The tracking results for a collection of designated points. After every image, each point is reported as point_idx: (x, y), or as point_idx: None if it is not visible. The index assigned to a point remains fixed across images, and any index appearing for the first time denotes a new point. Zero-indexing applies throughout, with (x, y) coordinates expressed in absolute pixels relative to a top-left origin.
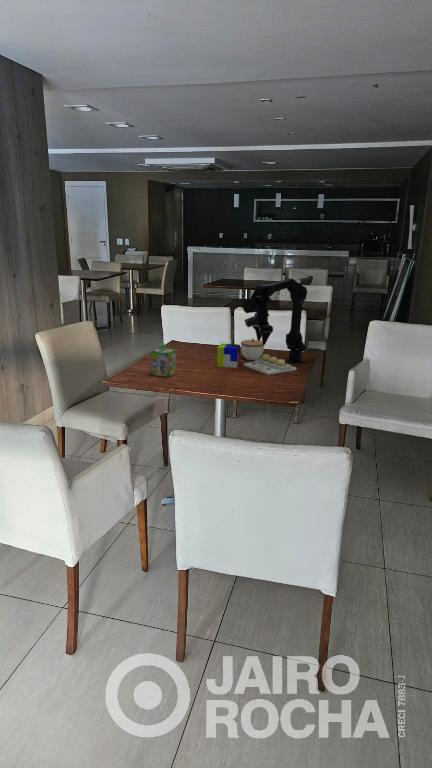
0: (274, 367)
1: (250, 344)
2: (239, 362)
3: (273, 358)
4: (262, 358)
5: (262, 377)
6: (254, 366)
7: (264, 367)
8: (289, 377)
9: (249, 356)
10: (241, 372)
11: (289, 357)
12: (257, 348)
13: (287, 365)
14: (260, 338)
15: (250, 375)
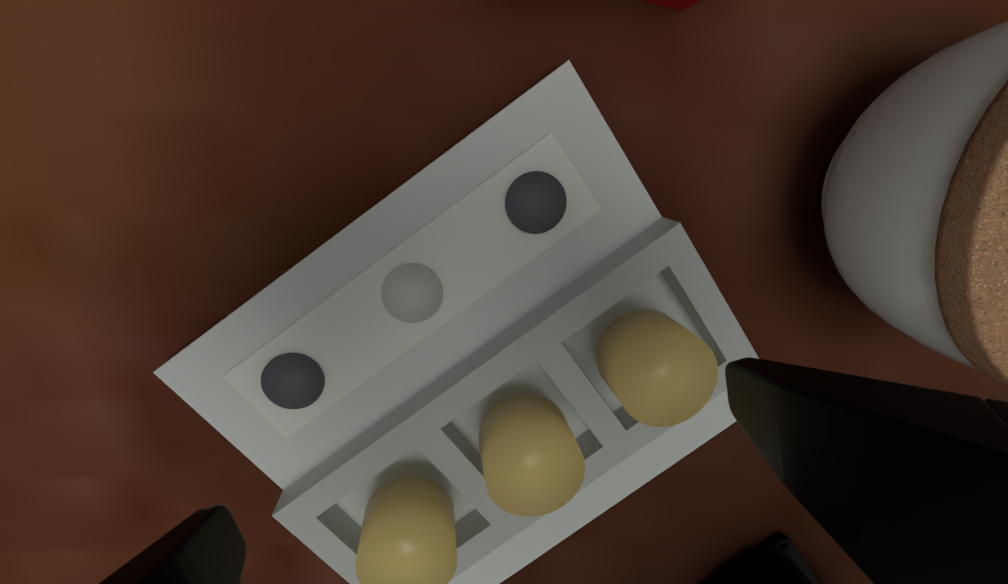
0: (356, 444)
1: (1004, 161)
2: (680, 5)
3: (487, 478)
4: (631, 324)
5: (5, 296)
6: (433, 207)
7: (373, 331)
8: (118, 563)
9: (840, 150)
10: (181, 17)
11: (766, 582)
12: (909, 280)
13: None
14: (770, 464)
15: (53, 144)
